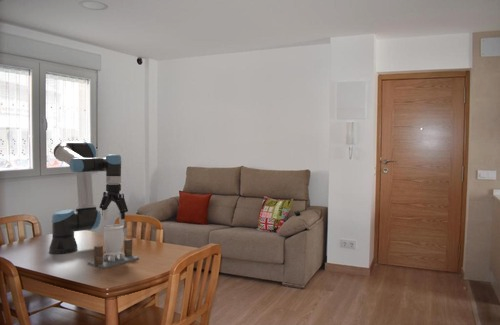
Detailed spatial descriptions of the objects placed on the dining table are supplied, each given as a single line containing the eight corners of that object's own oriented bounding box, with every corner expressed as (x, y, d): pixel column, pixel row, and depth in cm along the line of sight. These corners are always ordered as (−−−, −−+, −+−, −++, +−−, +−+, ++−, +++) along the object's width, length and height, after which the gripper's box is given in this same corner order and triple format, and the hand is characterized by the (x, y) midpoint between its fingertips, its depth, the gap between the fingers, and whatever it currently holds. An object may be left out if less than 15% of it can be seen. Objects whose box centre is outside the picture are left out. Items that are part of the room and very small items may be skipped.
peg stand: (87, 264, 216) (87, 256, 216) (122, 255, 235) (121, 248, 234) (104, 268, 209) (104, 260, 208) (138, 258, 227) (138, 251, 227)
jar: (117, 257, 215) (117, 228, 215) (99, 255, 217) (99, 227, 217) (127, 252, 226) (127, 224, 225) (110, 251, 228) (110, 223, 227)
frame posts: (94, 265, 213) (94, 246, 213) (128, 256, 232) (128, 238, 231) (97, 266, 212) (97, 247, 211) (132, 257, 230) (132, 239, 229)
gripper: (92, 182, 224) (92, 221, 225) (123, 186, 210) (123, 227, 211) (104, 181, 230) (104, 219, 231) (135, 185, 216) (134, 225, 217)
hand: (113, 223), depth 221 cm, fingers open, 13 cm apart
